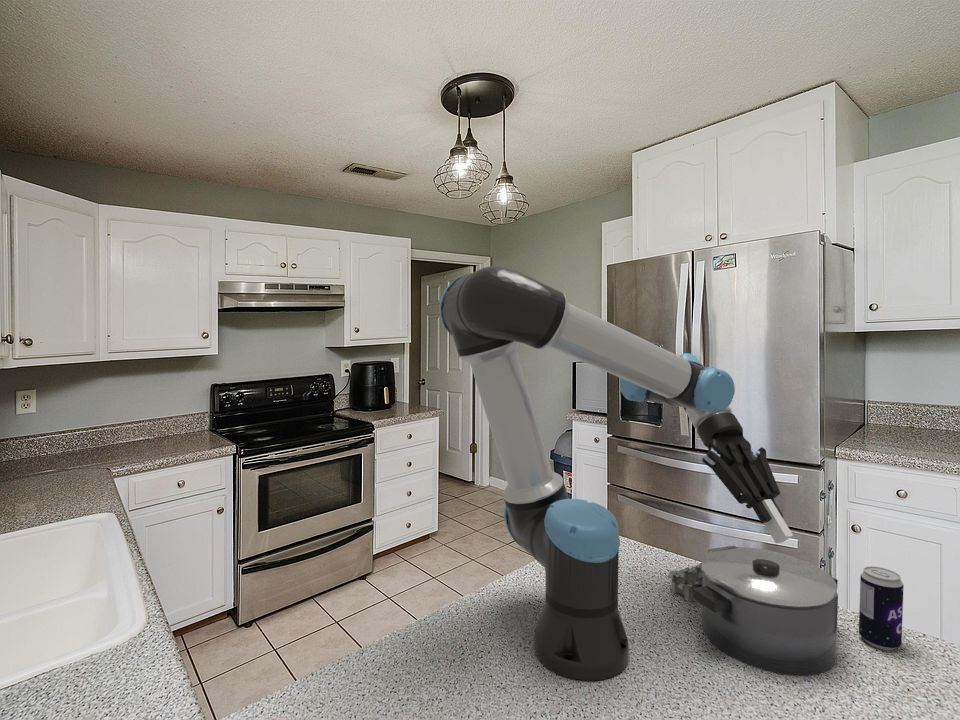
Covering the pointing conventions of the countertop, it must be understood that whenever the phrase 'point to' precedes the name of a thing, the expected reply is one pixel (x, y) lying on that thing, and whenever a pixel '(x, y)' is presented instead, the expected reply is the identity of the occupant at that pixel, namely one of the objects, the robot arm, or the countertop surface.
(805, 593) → the lid
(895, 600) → the beverage can
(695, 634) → the countertop surface
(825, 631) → the cooker pot
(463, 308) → the robot arm
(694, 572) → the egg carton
